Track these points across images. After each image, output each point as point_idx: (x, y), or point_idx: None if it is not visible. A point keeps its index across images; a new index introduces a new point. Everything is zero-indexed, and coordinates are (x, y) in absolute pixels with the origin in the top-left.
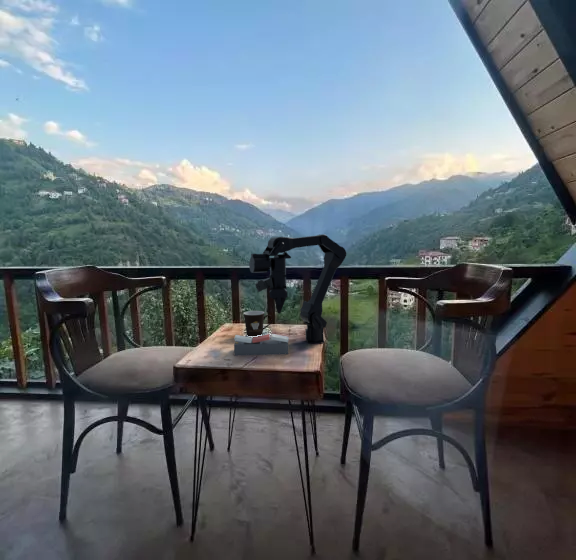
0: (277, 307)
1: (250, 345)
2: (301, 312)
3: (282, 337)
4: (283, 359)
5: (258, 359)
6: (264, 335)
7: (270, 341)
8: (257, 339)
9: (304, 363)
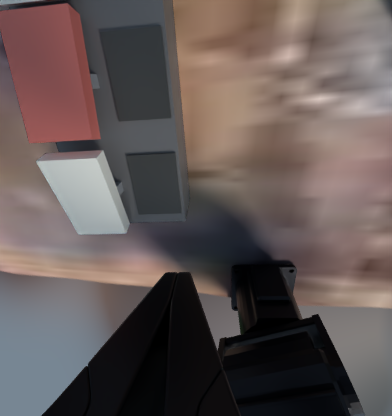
0: (124, 335)
1: (14, 6)
2: (315, 379)
3: (82, 211)
4: (45, 185)
5: (12, 78)
6: (73, 105)
7: (95, 139)
8: (9, 57)
9: (30, 245)
